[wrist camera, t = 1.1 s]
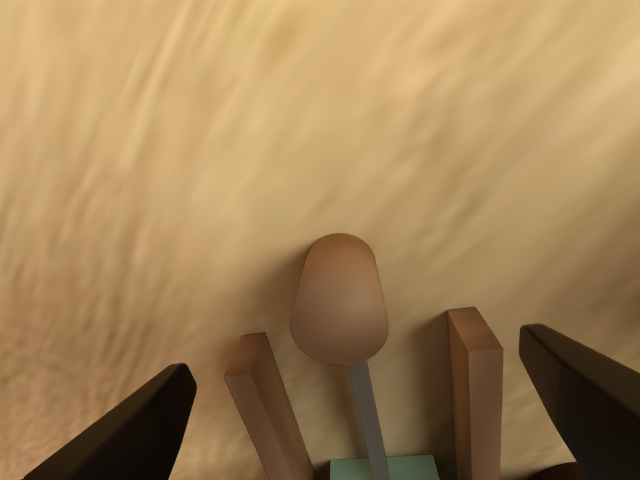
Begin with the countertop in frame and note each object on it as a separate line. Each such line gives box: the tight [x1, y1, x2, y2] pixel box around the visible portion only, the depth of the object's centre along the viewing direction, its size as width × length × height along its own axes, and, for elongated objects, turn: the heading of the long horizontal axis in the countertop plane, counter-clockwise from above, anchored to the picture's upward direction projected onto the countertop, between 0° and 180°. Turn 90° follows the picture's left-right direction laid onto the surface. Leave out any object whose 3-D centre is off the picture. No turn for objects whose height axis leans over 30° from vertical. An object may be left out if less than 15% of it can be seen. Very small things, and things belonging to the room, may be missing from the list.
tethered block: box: [290, 233, 439, 480], centre depth 13 cm, size 6×20×6 cm, turn 12°
